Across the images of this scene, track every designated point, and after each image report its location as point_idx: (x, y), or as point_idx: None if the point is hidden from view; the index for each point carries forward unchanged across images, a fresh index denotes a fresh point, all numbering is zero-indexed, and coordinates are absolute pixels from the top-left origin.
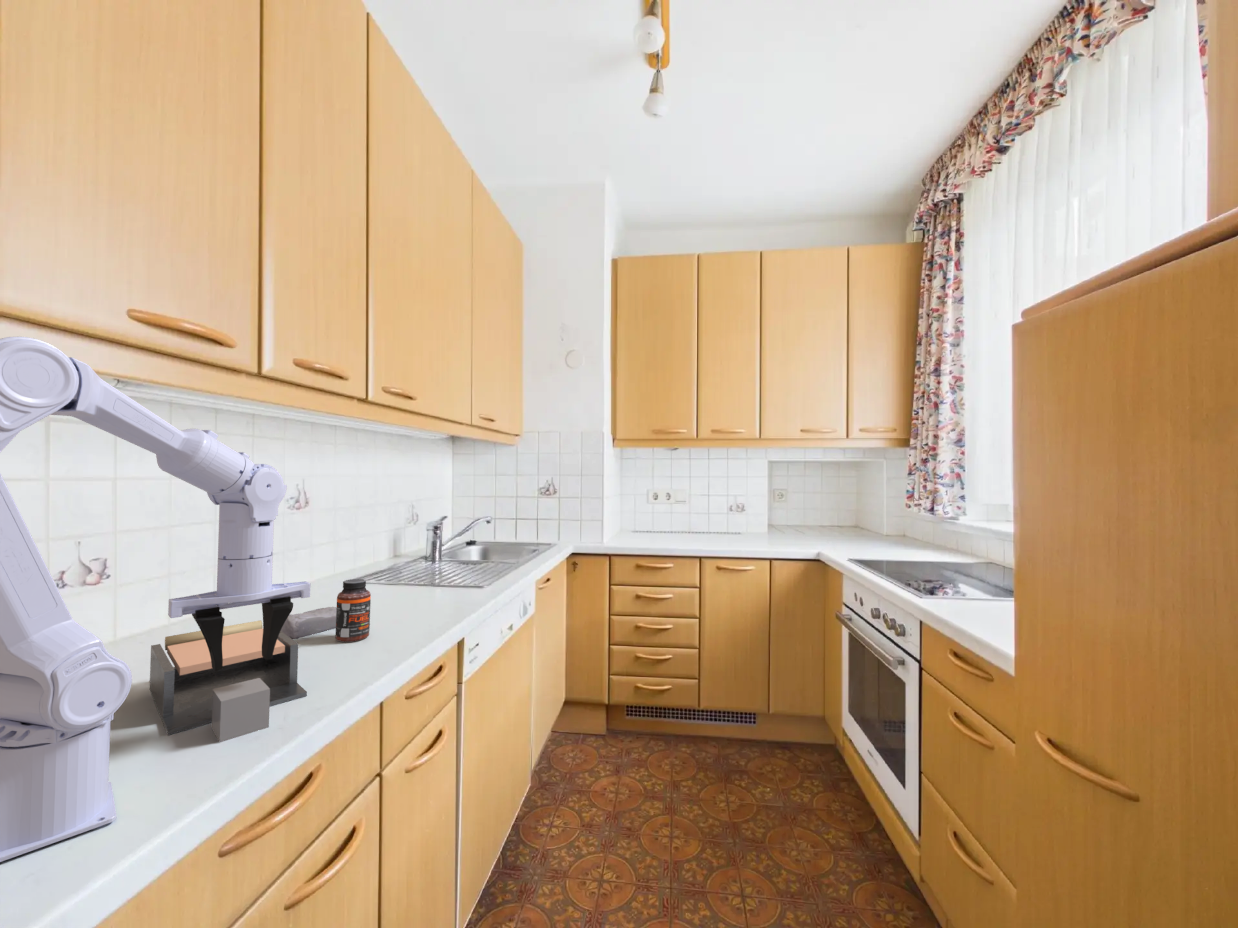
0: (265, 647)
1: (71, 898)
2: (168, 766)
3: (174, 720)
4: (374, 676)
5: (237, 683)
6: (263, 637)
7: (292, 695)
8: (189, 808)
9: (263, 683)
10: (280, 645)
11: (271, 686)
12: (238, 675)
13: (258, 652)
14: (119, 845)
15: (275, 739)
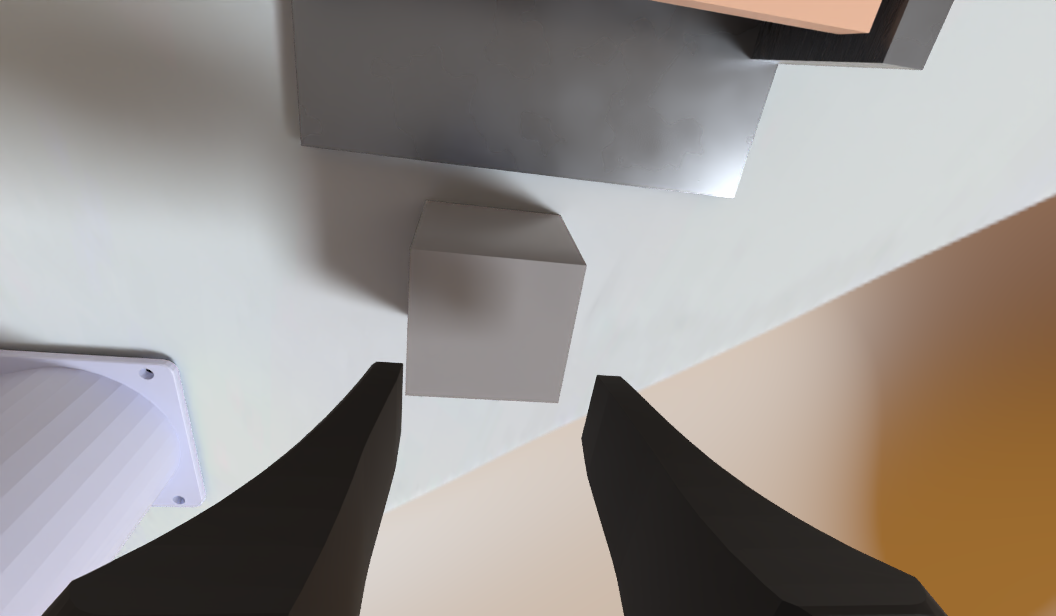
0: (600, 459)
1: None
2: (298, 355)
3: (327, 58)
4: (945, 217)
5: (502, 260)
6: (628, 444)
7: (688, 188)
8: None
9: (566, 339)
10: (860, 1)
11: None
12: None
13: (720, 8)
14: None
15: (521, 405)
